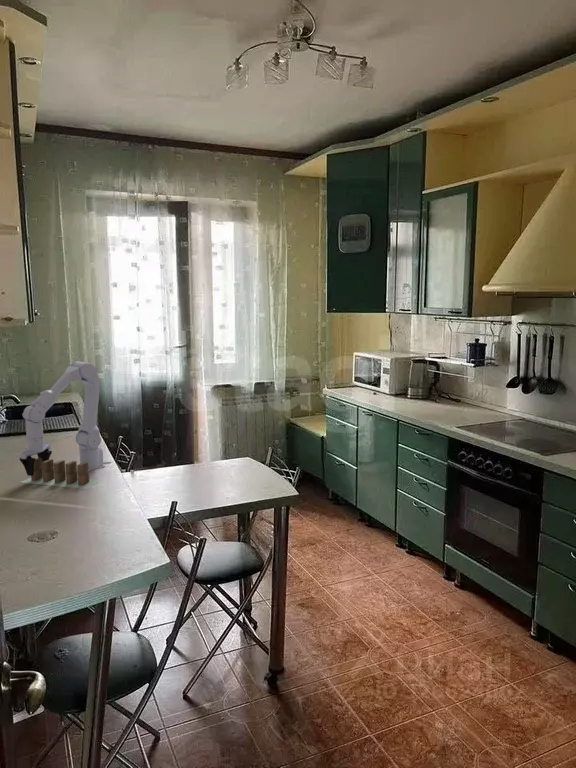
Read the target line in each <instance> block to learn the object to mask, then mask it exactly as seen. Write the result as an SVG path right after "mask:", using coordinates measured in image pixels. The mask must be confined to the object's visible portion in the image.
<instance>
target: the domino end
mask: <svg viewBox="0 0 576 768" xmlns="http://www.w3.org/2000/svg"><path fill="white" fill-rule="evenodd" d="M89 471H90V470H89V469H88V462H83V463H81V464H80V463H79V464H77V478H78V485H81V486H82V485H84V484H86V483H88V482H89V479H90V475H89V474H90V473H89Z"/></svg>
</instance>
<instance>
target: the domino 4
mask: <svg viewBox="0 0 576 768" xmlns="http://www.w3.org/2000/svg"><path fill="white" fill-rule="evenodd" d="M77 465H78V464H77V460H76V461H75V460H71V461H70V462H67V463H65V474H66V484H72V483H74V482H76V481H77V478H78V468H77Z"/></svg>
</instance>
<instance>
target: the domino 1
mask: <svg viewBox="0 0 576 768" xmlns="http://www.w3.org/2000/svg"><path fill="white" fill-rule="evenodd" d="M30 477H31V481H36V480H39V479H41V478H43V470H42V458H38V457H37V458H36V459H35V462H34V473H33V476H30Z"/></svg>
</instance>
